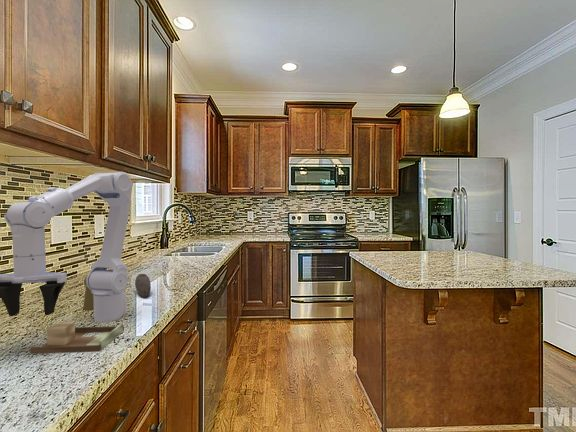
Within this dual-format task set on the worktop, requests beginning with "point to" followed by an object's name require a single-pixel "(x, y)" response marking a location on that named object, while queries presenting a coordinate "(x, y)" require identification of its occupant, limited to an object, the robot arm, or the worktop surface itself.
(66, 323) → the maple cube
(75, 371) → the worktop surface
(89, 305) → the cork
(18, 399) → the worktop surface
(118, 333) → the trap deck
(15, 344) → the worktop surface
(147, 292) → the perforated stone tool
